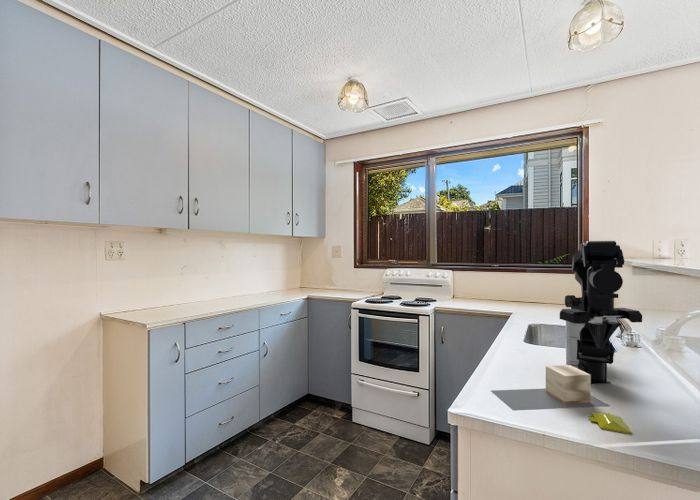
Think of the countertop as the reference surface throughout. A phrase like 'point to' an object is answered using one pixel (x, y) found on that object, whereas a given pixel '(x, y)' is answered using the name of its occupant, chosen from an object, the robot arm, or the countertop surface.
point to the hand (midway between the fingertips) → (599, 348)
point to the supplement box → (572, 341)
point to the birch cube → (568, 384)
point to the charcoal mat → (538, 400)
